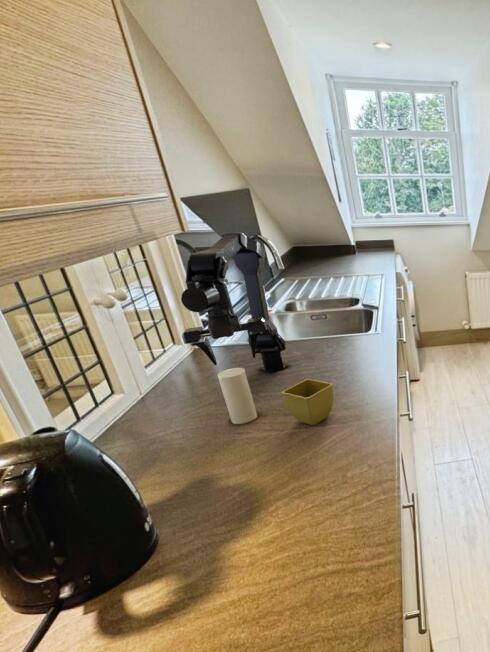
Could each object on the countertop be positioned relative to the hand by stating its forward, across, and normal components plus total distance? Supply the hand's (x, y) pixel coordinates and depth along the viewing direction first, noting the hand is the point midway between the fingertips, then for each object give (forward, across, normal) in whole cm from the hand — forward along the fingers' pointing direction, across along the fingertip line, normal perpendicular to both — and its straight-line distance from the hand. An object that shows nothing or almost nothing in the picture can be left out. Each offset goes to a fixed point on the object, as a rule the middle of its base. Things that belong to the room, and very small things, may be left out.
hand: (235, 361), depth 120 cm
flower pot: (+14, +16, -18) cm, 28 cm away
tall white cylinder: (+13, 0, -9) cm, 16 cm away
